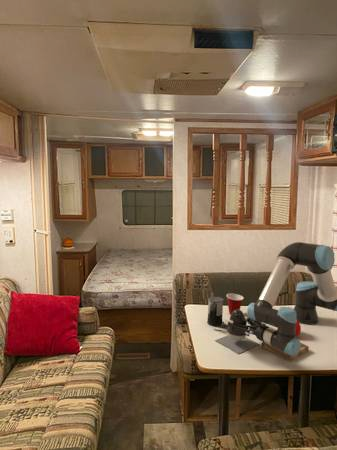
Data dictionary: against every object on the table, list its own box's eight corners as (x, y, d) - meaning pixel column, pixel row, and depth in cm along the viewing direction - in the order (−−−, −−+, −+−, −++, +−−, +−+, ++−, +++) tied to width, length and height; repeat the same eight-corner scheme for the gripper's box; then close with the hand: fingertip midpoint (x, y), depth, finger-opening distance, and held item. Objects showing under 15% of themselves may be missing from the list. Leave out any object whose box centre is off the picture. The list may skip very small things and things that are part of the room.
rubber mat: (235, 332, 175) (235, 332, 174) (259, 344, 162) (259, 344, 162) (214, 340, 165) (214, 340, 165) (238, 354, 152) (238, 353, 152)
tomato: (282, 327, 182) (283, 313, 181) (302, 333, 175) (303, 318, 174) (276, 334, 173) (277, 319, 172) (297, 340, 167) (298, 324, 166)
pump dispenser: (225, 340, 160) (226, 311, 158) (228, 332, 170) (229, 304, 168) (245, 344, 156) (246, 315, 154) (248, 335, 166) (249, 307, 164)
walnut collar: (280, 338, 169) (280, 333, 169) (308, 351, 156) (308, 346, 156) (261, 346, 160) (261, 342, 159) (289, 361, 147) (290, 356, 146)
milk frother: (206, 319, 192) (207, 296, 190) (232, 320, 191) (233, 296, 189) (208, 330, 177) (209, 305, 176) (236, 331, 177) (237, 305, 175)
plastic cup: (243, 318, 194) (244, 299, 192) (225, 316, 196) (226, 298, 194) (242, 311, 204) (243, 293, 203) (225, 310, 206) (226, 292, 205)
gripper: (251, 349, 142) (216, 330, 160) (280, 336, 154) (244, 320, 172) (252, 333, 141) (216, 316, 159) (281, 321, 154) (245, 307, 171)
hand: (231, 318), depth 166 cm, fingers closed on pump dispenser, 9 cm apart
